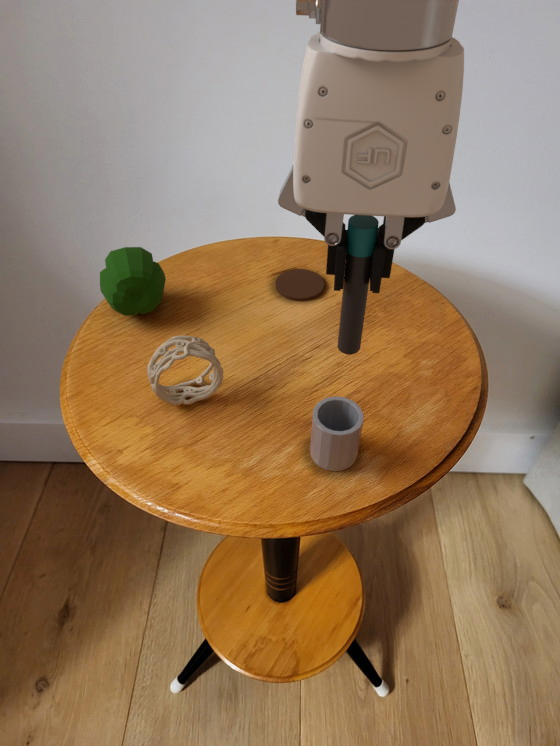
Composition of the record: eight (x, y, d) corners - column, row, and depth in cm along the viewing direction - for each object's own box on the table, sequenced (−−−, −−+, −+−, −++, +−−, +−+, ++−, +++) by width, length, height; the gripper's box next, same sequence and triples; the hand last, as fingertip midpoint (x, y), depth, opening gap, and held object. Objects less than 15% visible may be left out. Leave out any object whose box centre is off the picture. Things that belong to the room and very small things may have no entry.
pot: (357, 435, 62) (363, 398, 57) (356, 473, 58) (363, 437, 54) (311, 431, 62) (314, 394, 58) (308, 469, 58) (311, 432, 54)
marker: (361, 339, 51) (378, 214, 42) (361, 356, 49) (379, 229, 40) (336, 338, 51) (348, 212, 42) (335, 354, 49) (348, 228, 40)
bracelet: (150, 394, 66) (139, 343, 60) (216, 376, 68) (211, 325, 62) (159, 418, 63) (148, 367, 57) (226, 399, 65) (222, 348, 60)
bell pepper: (179, 280, 71) (169, 249, 79) (115, 258, 67) (111, 227, 75) (155, 334, 74) (148, 299, 82) (92, 316, 70) (91, 281, 78)
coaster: (325, 273, 83) (325, 270, 83) (322, 302, 78) (323, 299, 78) (278, 270, 84) (278, 267, 83) (272, 298, 79) (272, 296, 78)
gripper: (237, 28, 30) (250, 304, 43) (548, 37, 29) (464, 318, 42) (256, -5, 35) (262, 250, 48) (519, 1, 34) (453, 261, 47)
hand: (356, 280), depth 45 cm, fingers closed on marker, 2 cm apart
